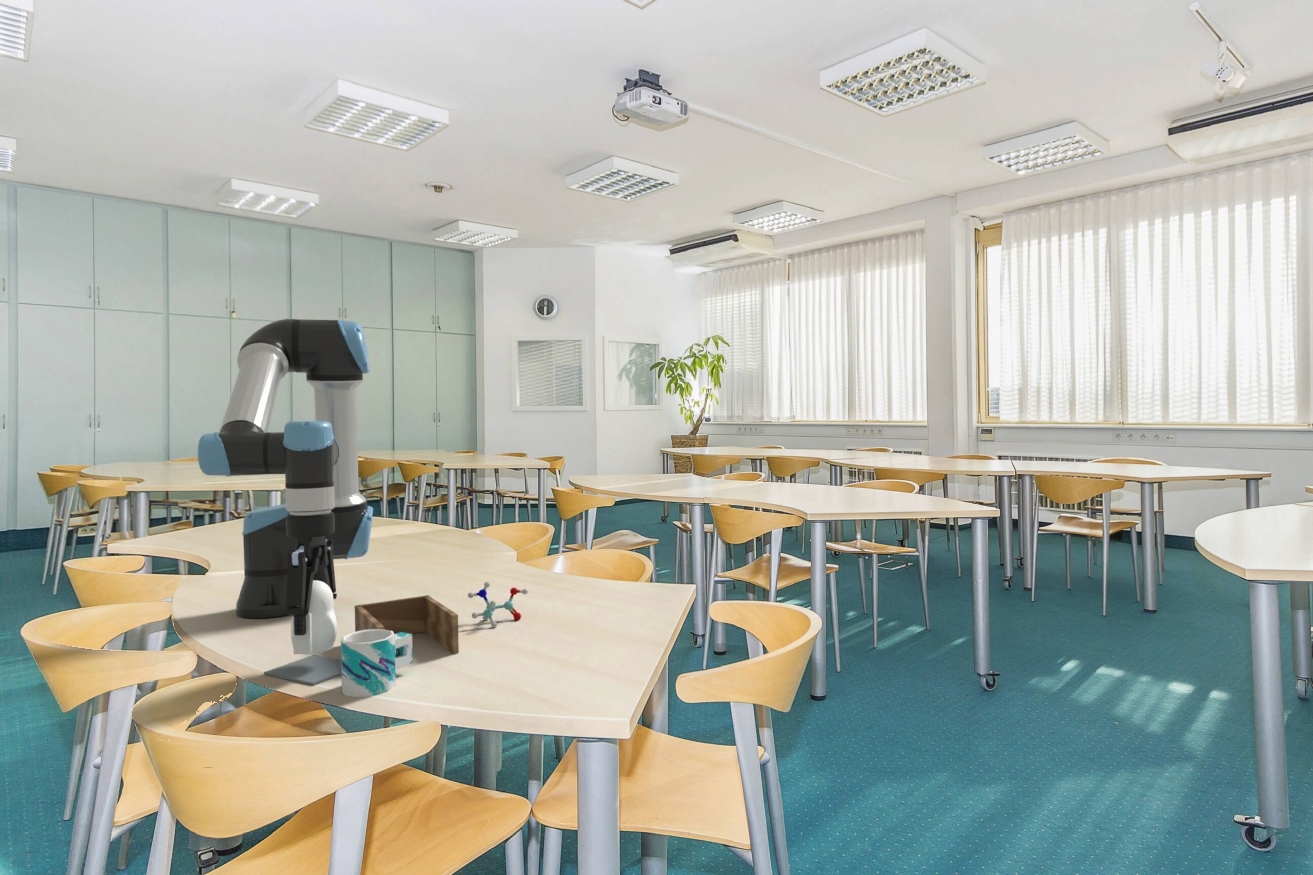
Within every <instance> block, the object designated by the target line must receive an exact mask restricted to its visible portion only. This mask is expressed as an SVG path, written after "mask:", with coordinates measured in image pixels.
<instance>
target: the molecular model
mask: <svg viewBox="0 0 1313 875" xmlns="http://www.w3.org/2000/svg"><path fill="white" fill-rule="evenodd" d="M483 584H484V585H483V588H481V589H480V590H479V591H478V592H473V591H470V592H468V594H467V597H468V598H469V599H472V598H473V597H476V596H477V597H478V596H479V598H483V600H484V601H485V604H486V608H485V609H484V611H483V612H476V611H475V612H472V613H471V618H472V619H477V618H479V617H482V620H483V621H488V620H489V621H490V626H491V627H492V628H493V629H494V628H497V627H498V623H497V621H495V620H494V618H493V612H495V610H497V609H505V610H506V611H509V613H510V614H511V615H512V616H513V619H514V620H515V621H519V620H520V619H521V618H522V614H521V613H520V612H518V611H517V610H516V609H515V607H513V606H514V604H513V602H512V601H513V598H514V596H516V595H517V594H523V595H527V594H528V592H529V590H528V589H527V588H523V589H518V588H517V587H514V586H513V587H511V588H510V591H509V593H510V596H509V599H508V600H507V601H505V602H504V604H501V605H497V602H496V600H491V601H489V599H488V597H487V594H488V593H487V589H488V588H489V587H491V583H490V582H489V581H485V582H484V583H483Z"/></svg>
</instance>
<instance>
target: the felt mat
mask: <svg viewBox="0 0 1313 875" xmlns="http://www.w3.org/2000/svg"><path fill="white" fill-rule="evenodd" d="M263 675H265V676H269V677H274V678H279V679H283V680H287V681H291V682H297V683H300V684H301V683H302V684H304V685H309V686H310V685H311V686H316V685H318V684H321V683H323V682H326V681H328V680H331V679H333V678H337V677H339V676H342V673H341V658H340V659H339V658H333V657H329V656H325V655H319V654H311V655H310V656H309V655H308V656H307V657H304V658H301V659H298V660H295V661H292V662H289V663H287V664H283V665H280V666H278V667H275V668H274V667H273V668H272V669H270V670H269V669H268V670H265V671H263Z"/></svg>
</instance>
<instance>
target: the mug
mask: <svg viewBox="0 0 1313 875" xmlns="http://www.w3.org/2000/svg"><path fill="white" fill-rule="evenodd" d="M340 654H341V655H340V660H341V673H342V675H341V691H342V695H344V696H349V697H353V698H360V697H372V696H377V695H380V694H383V693H387V692H389V691H391V690H392V689H393V688H395V687H396V686H397V682H396V681H397V680H396V674H397V673H396V670H399V669H401V668H405V667H406V666H409V665H412V664H413V663H414V662H413V661H414V660H413V634H409V633H403V632H400V633H397V634H394V633H393V631H390V630H384V629H366V630H361V631H356V632H355V631H352V632H349V633H347V634H346V635H343V636H342V637H340Z"/></svg>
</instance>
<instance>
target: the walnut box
mask: <svg viewBox="0 0 1313 875" xmlns="http://www.w3.org/2000/svg"><path fill="white" fill-rule="evenodd" d="M354 621H355V622H354V632H356V631H361V630H366V629H384V630H390V631H393V633H394V634H397V633H400V632H403V633H409V634H412V635H413V634H418V633H423V632H424V633H426V634H428V635H429V636H430V637H431V638H432V639H434V640H435V641H436V642H437V643H439V644H440V645H441V646H442V647H444V648H445V649H446V650H448V651H449V652H450V653H451V654H452V655H453V654H459V649H460V648H459V644H460V643H459V614H458V613H456V612H454V611H453V610H451V609H450V608H449V607H447V606H445V605H444V604H442V603H441V602H439V601H438V600H436V599H434V598H433V597H432V596H430V595H429V594H428V595H427V594H426V595H420V596H419V595H418V596H413V597H406V598H405V597H404V598H398V599H391V600H384V601H379V602H377V601H376V602H372V603H371V602H370V603H364V604H359V605H354Z"/></svg>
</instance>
